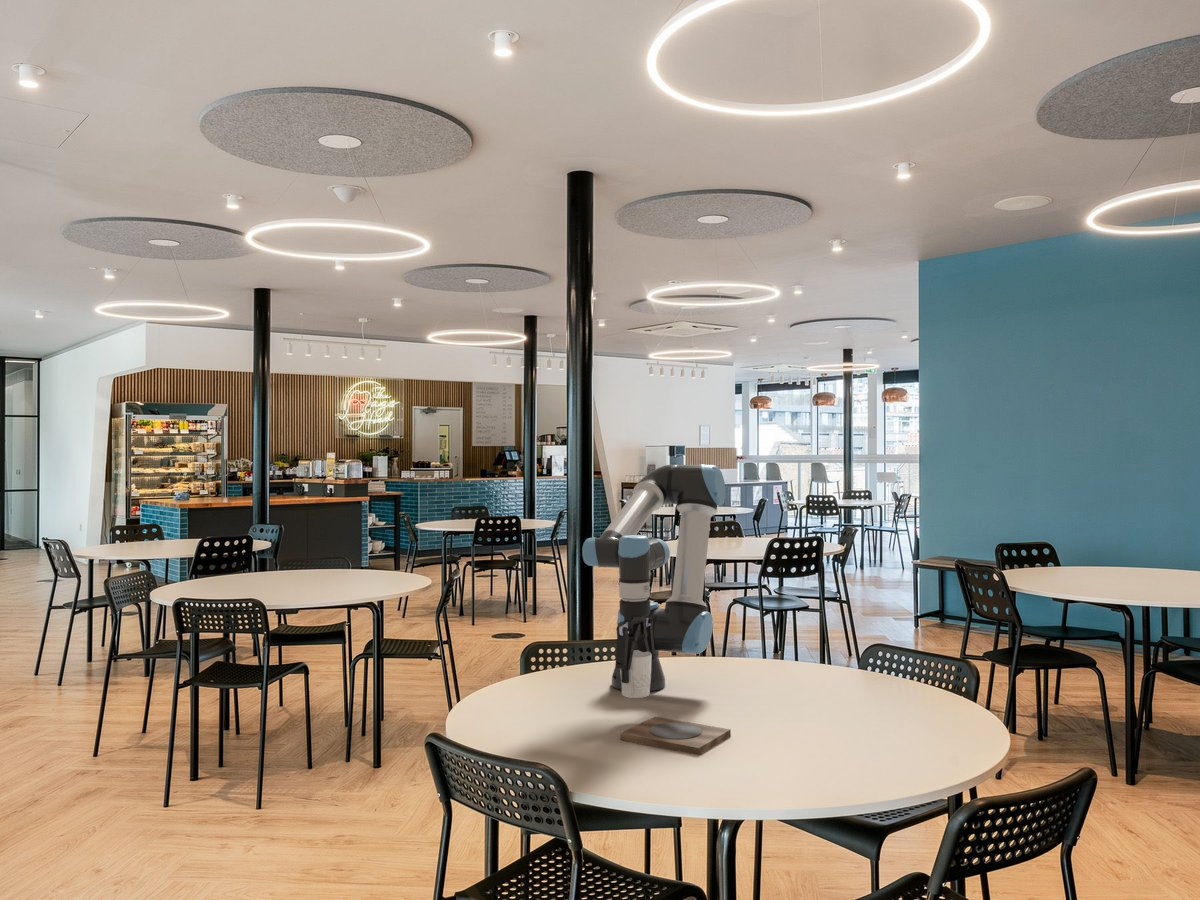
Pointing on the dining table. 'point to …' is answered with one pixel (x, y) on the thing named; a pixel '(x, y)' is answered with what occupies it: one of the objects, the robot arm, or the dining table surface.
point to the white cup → (641, 673)
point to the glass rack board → (676, 735)
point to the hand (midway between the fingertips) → (636, 691)
